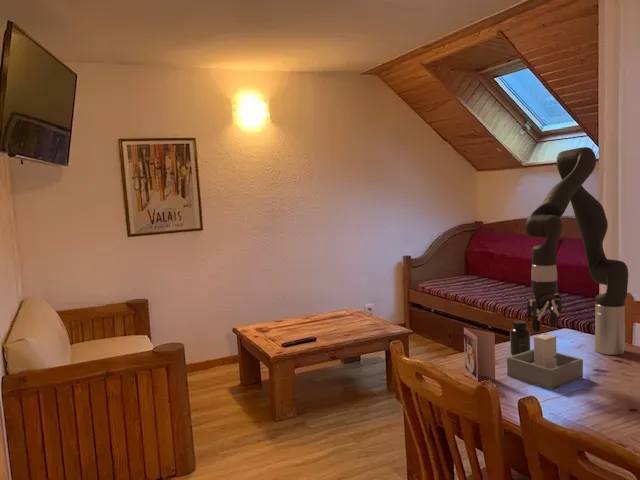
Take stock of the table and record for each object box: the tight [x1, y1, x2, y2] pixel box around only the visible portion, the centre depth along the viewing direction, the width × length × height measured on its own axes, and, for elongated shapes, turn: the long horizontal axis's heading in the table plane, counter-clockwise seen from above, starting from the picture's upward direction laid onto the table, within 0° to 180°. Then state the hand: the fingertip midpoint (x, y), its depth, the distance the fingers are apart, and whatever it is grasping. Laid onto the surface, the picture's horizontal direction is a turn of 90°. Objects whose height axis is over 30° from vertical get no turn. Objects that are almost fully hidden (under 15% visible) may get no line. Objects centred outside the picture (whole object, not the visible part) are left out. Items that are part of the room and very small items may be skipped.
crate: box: [506, 348, 584, 391], centre depth 172 cm, size 16×16×6 cm
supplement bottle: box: [509, 319, 531, 356], centre depth 194 cm, size 7×7×12 cm
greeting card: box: [462, 327, 496, 382], centre depth 174 cm, size 11×7×15 cm, turn 5°
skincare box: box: [533, 333, 557, 369], centre depth 172 cm, size 6×4×12 cm
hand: (545, 328), depth 170 cm, fingers open, 8 cm apart
